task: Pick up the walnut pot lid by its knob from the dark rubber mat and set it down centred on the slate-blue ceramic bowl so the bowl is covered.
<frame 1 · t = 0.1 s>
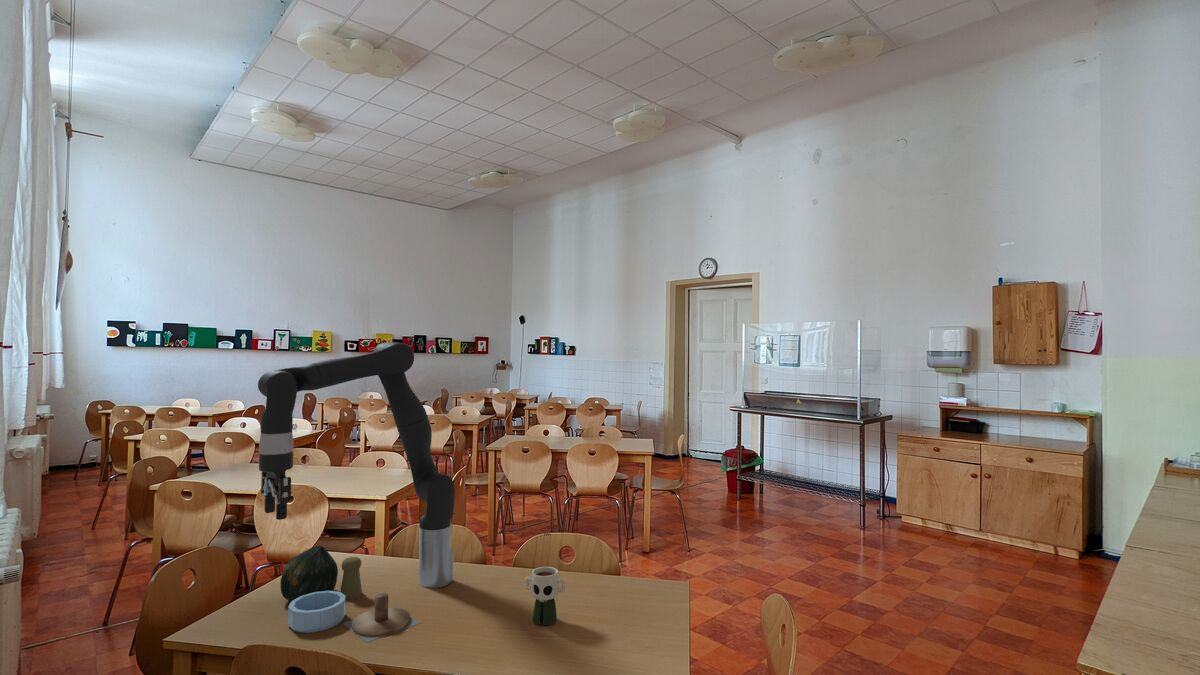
hand: (275, 515, 148), 29 cm above the table, fingers open, 8 cm apart
lid: (381, 623, 152), point 1 cm above the table, touching mat
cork: (350, 597, 169), on the table
bowl: (317, 623, 153), on the table
character mug: (544, 622, 155), on the table
mat: (381, 625, 152), on the table
squash: (309, 596, 170), on the table
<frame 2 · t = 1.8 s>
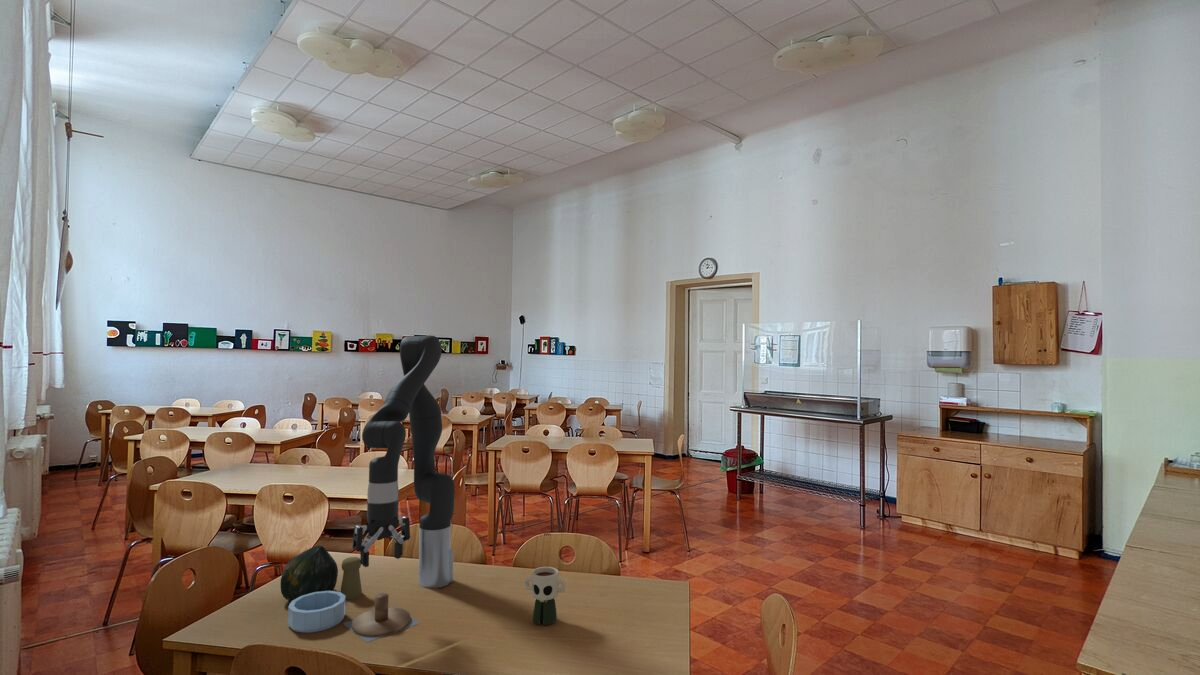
hand: (381, 562, 152), 16 cm above the table, fingers open, 8 cm apart
nothing on the table moved.
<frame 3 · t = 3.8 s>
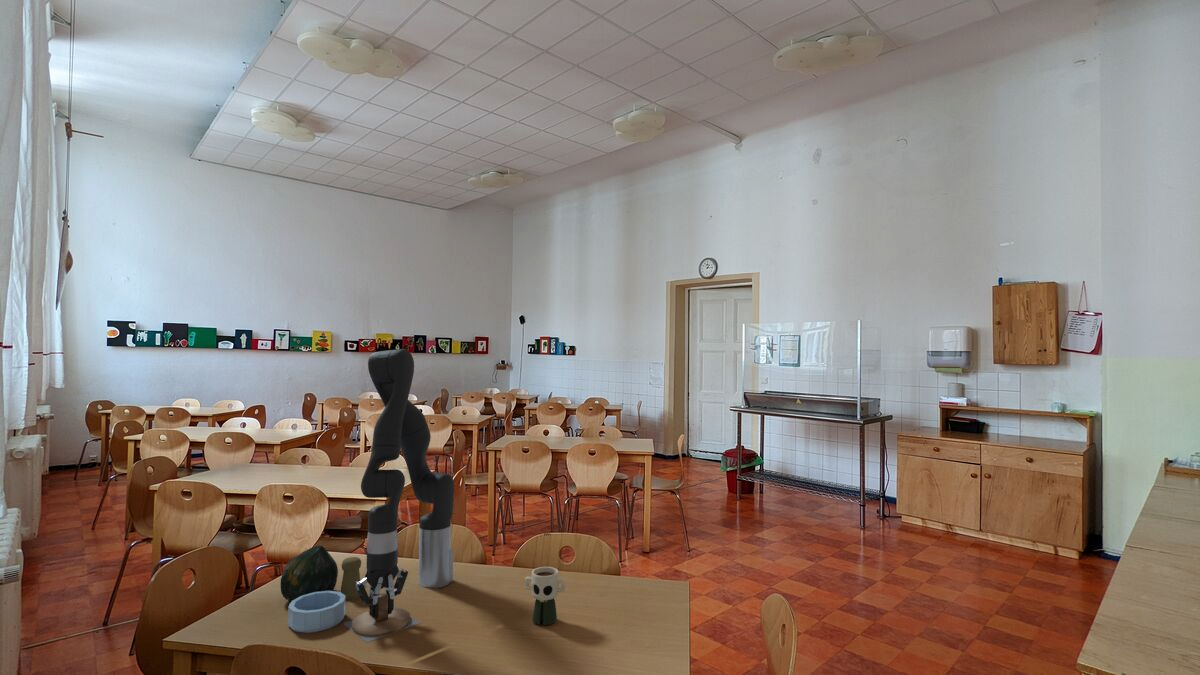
hand: (381, 615, 152), 3 cm above the table, fingers closed on lid, 3 cm apart
lid: (381, 623, 152), point 1 cm above the table, touching gripper, mat
everything else where it was.
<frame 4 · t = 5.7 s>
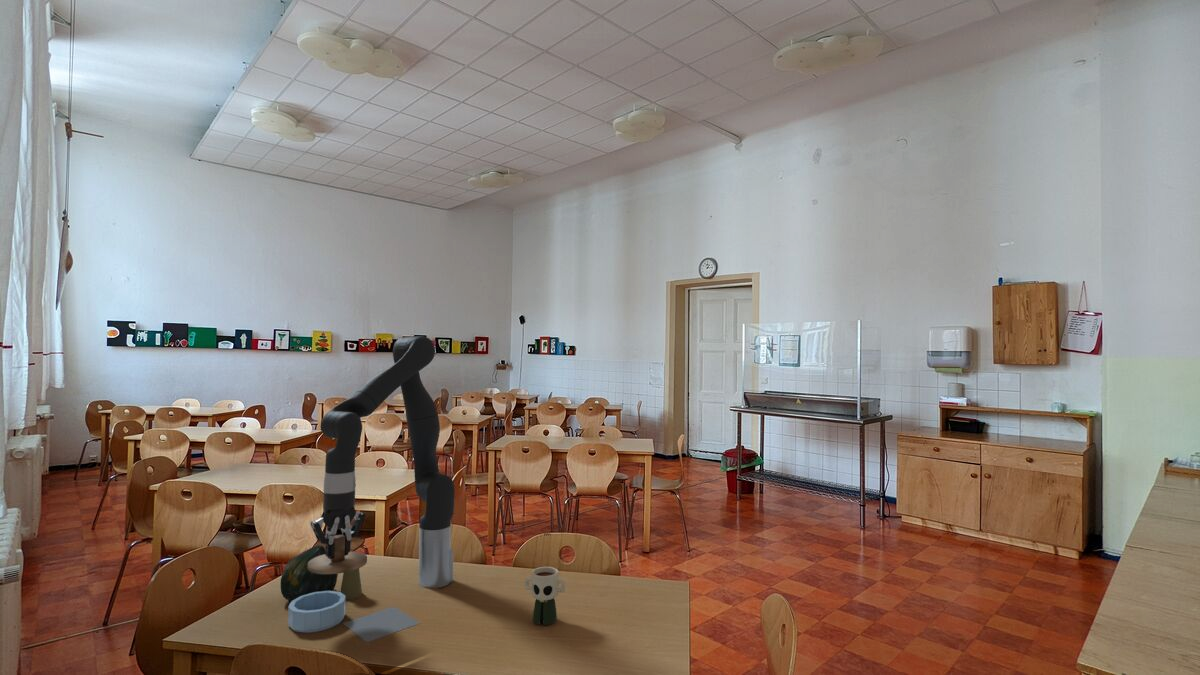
hand: (337, 556, 152), 18 cm above the table, fingers closed on lid, 3 cm apart
lid: (337, 564, 152), point 15 cm above the table, touching gripper
everything else where it was.
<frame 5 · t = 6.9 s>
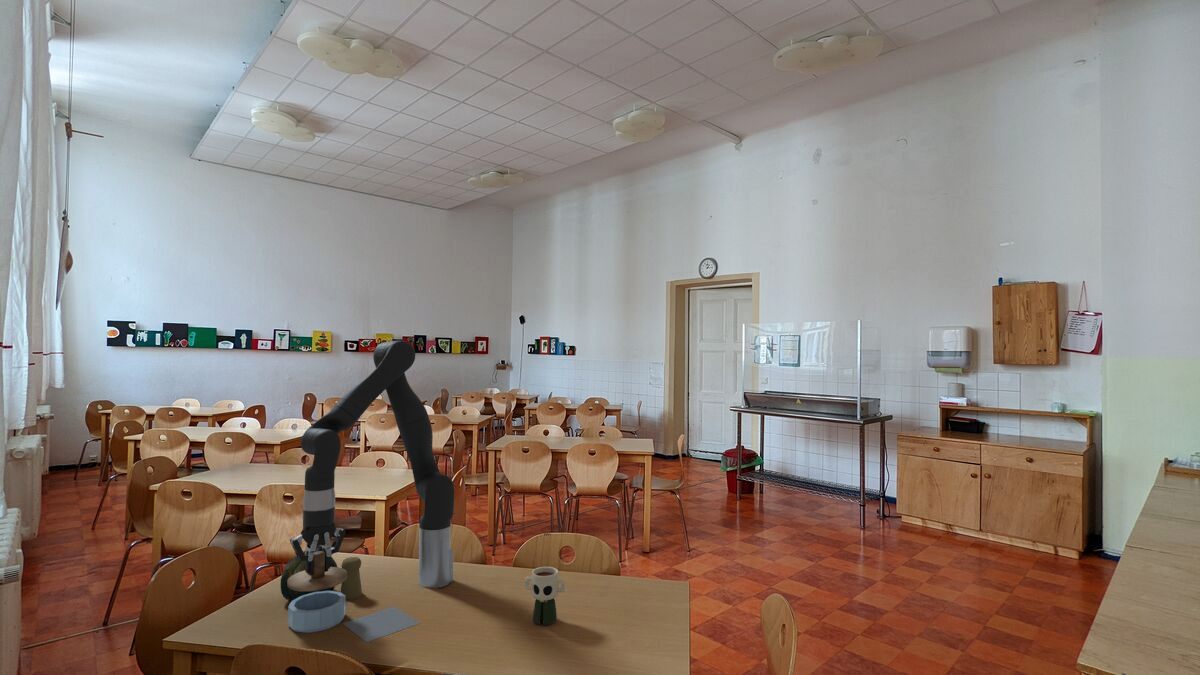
hand: (317, 572, 153), 13 cm above the table, fingers closed on lid, 3 cm apart
lid: (317, 580, 153), point 11 cm above the table, touching gripper
everything else where it was.
when the fingers open (9 cm above the table, at t = 7.9 s): lid stays where it is, resting on bowl.
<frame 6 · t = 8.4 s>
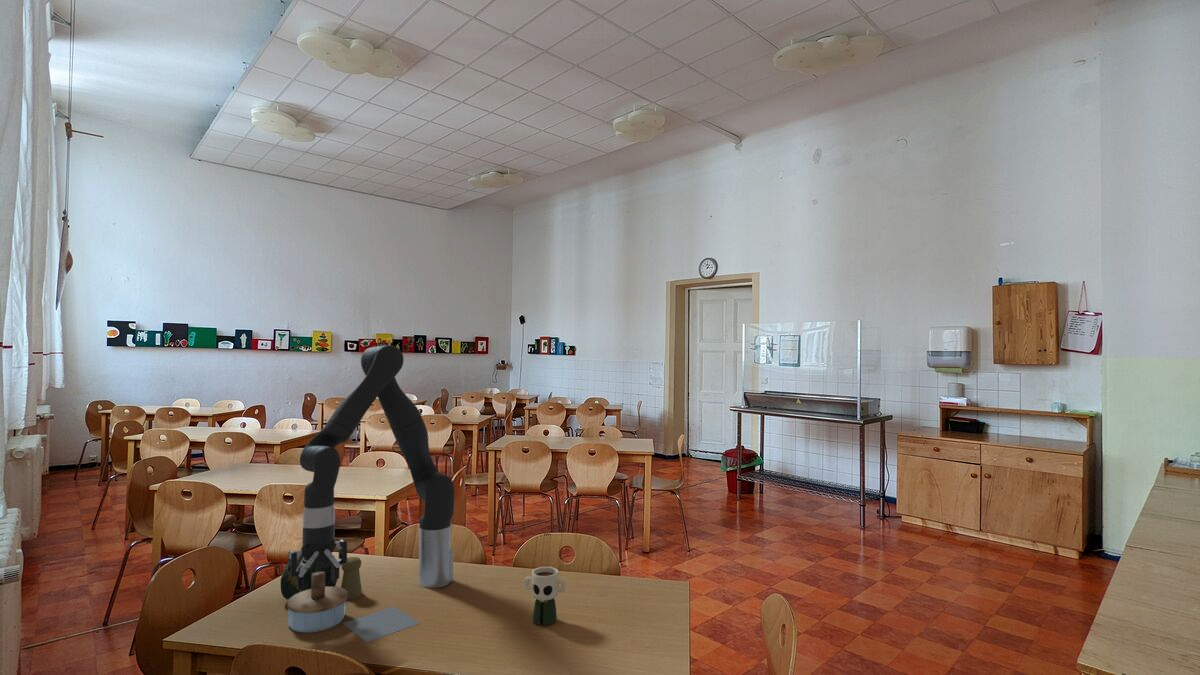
hand: (317, 586, 153), 10 cm above the table, fingers open, 8 cm apart
lid: (318, 601, 153), point 6 cm above the table, touching bowl
everything else where it was.
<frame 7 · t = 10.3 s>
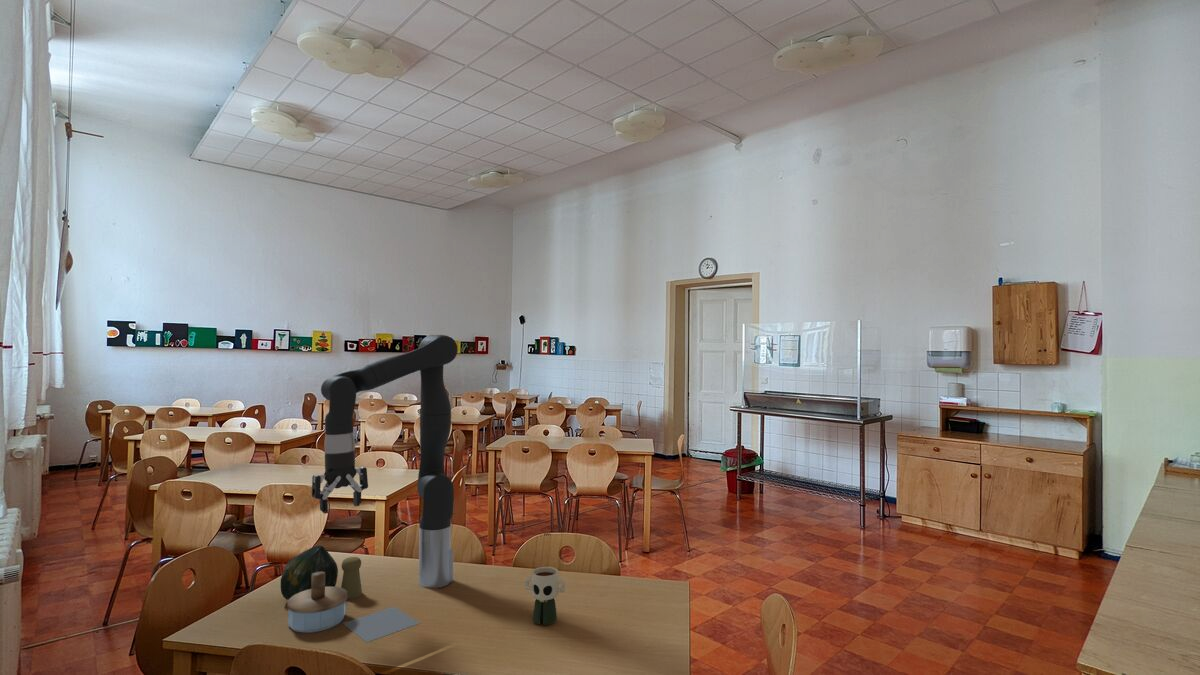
hand: (341, 509, 161), 27 cm above the table, fingers open, 8 cm apart
nothing on the table moved.
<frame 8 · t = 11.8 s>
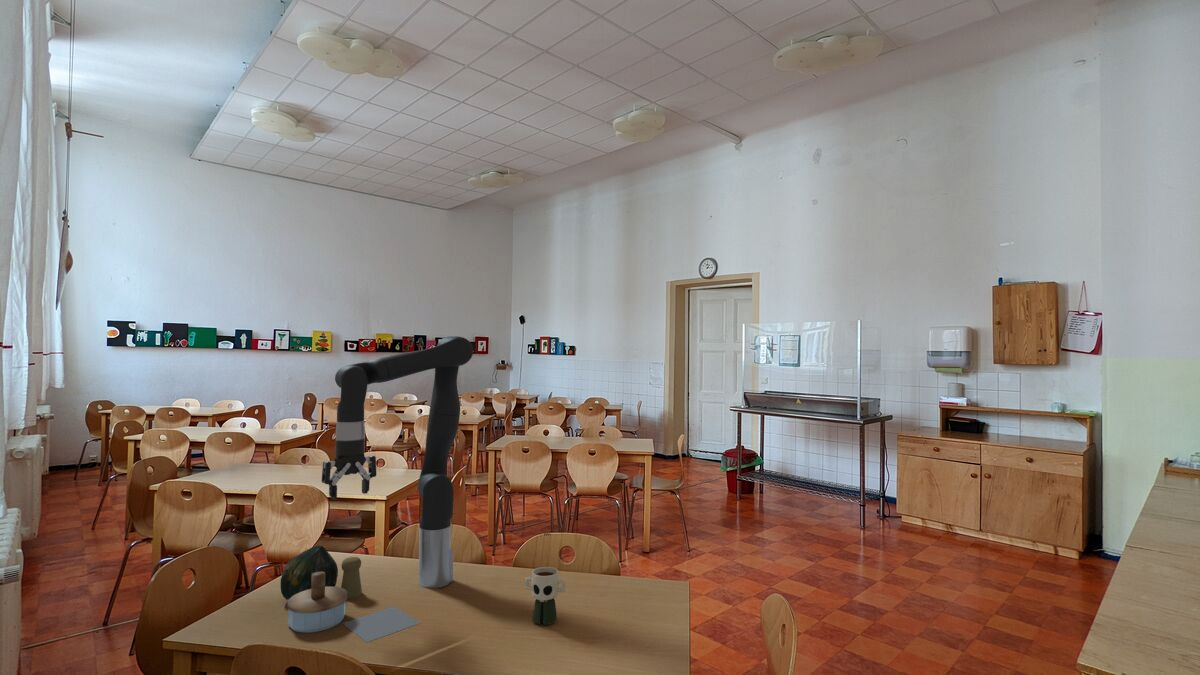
hand: (349, 495, 164), 30 cm above the table, fingers open, 8 cm apart
nothing on the table moved.
at the end: lid 0.1 cm off-centre on the bowl, point 5.6 cm above the bowl's base; lid tilted 0°; the gripper is holding nothing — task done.
